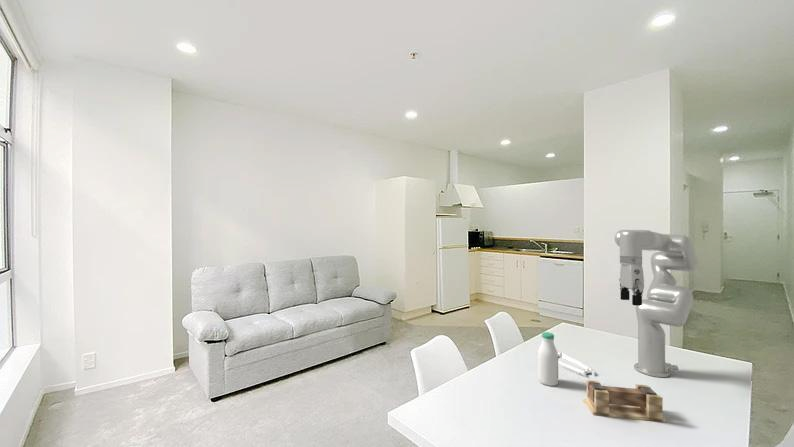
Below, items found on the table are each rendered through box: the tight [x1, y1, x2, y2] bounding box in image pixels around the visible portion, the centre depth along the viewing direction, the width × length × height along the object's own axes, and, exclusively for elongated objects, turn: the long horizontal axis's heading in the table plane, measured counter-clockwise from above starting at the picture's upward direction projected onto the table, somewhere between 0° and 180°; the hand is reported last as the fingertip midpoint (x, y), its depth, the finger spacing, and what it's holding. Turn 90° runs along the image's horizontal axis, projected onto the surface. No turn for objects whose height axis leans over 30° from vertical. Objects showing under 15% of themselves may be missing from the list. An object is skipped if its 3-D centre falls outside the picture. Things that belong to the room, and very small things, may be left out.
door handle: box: [557, 351, 596, 378], centre depth 153 cm, size 3×10×25 cm
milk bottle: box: [537, 331, 559, 387], centre depth 136 cm, size 8×8×20 cm
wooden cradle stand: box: [583, 379, 667, 423], centre depth 115 cm, size 22×8×8 cm, turn 79°
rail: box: [589, 383, 658, 407], centre depth 115 cm, size 20×4×5 cm, turn 79°
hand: (630, 302), depth 135 cm, fingers open, 9 cm apart
